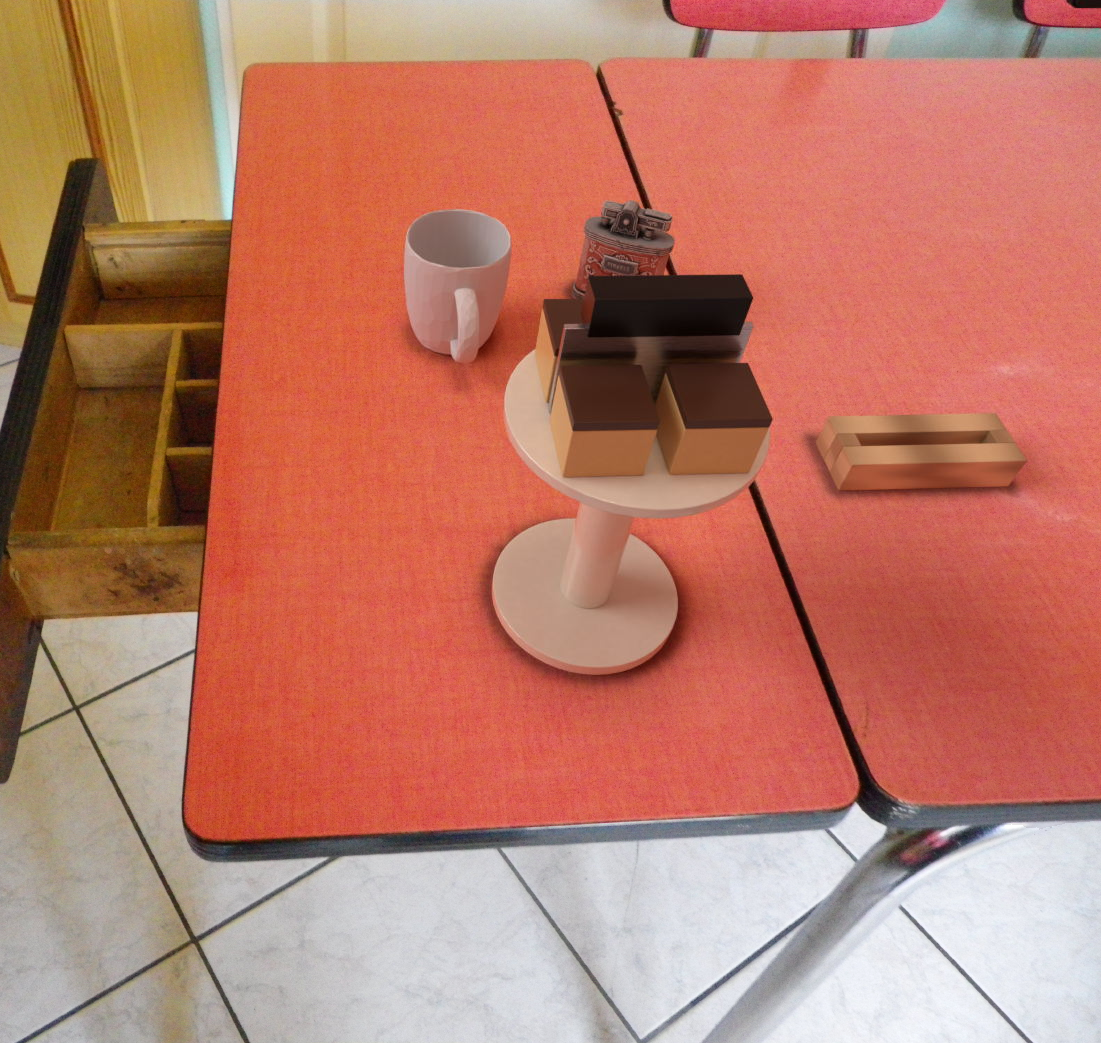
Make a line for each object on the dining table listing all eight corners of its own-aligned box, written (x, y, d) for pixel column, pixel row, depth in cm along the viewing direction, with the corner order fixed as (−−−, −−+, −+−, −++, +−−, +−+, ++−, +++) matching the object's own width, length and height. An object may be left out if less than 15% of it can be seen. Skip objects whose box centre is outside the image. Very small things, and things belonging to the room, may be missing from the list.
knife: (716, 396, 55) (761, 273, 49) (726, 420, 54) (773, 297, 48) (545, 399, 55) (568, 275, 48) (551, 423, 53) (575, 299, 47)
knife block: (978, 439, 80) (996, 412, 77) (1008, 486, 76) (1027, 460, 74) (815, 442, 79) (828, 415, 77) (837, 490, 75) (852, 464, 73)
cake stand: (724, 581, 69) (811, 395, 55) (626, 729, 61) (699, 555, 47) (547, 487, 75) (586, 297, 61) (436, 611, 67) (452, 425, 53)
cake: (700, 350, 58) (719, 296, 55) (749, 473, 51) (773, 419, 48) (534, 353, 57) (543, 298, 54) (562, 477, 51) (574, 423, 48)
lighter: (567, 300, 90) (585, 205, 83) (577, 280, 92) (595, 186, 85) (651, 322, 89) (677, 227, 81) (659, 302, 91) (685, 207, 83)
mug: (397, 305, 89) (399, 209, 82) (491, 301, 90) (502, 205, 82) (412, 397, 81) (417, 300, 73) (516, 391, 82) (531, 295, 74)
